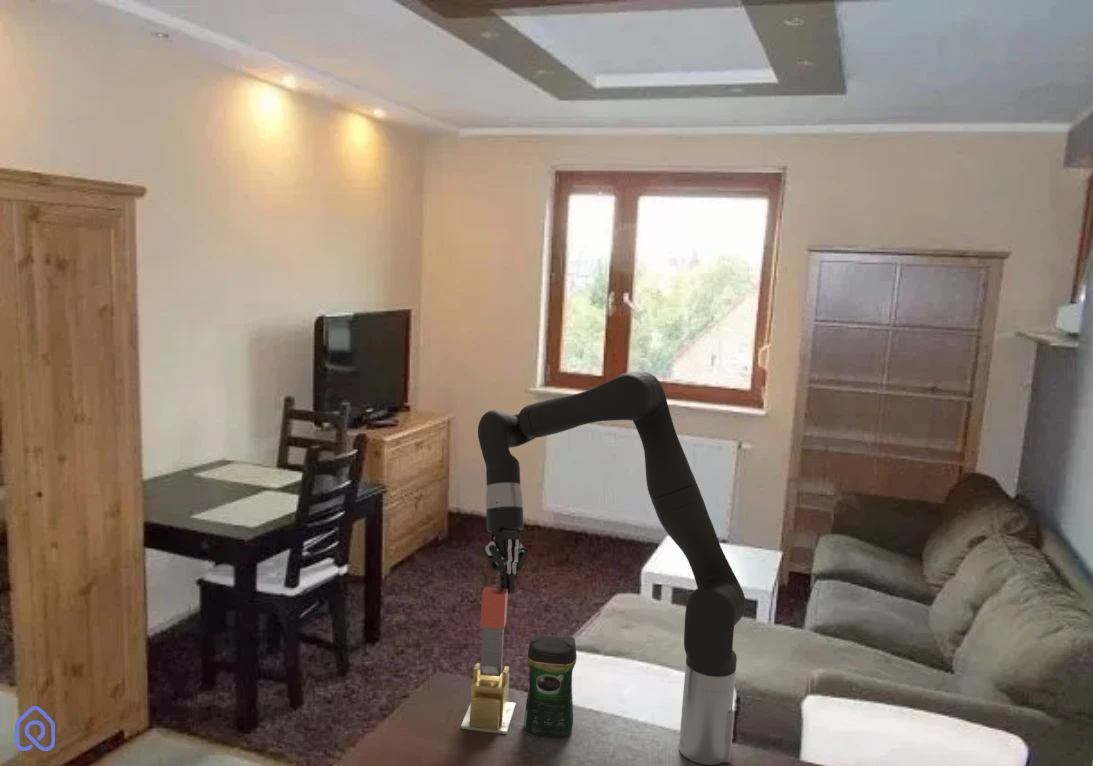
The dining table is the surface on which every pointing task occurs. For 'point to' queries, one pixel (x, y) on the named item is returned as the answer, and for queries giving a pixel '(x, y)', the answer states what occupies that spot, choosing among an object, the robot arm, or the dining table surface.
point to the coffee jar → (550, 685)
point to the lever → (493, 630)
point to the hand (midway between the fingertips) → (507, 594)
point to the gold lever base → (489, 703)
